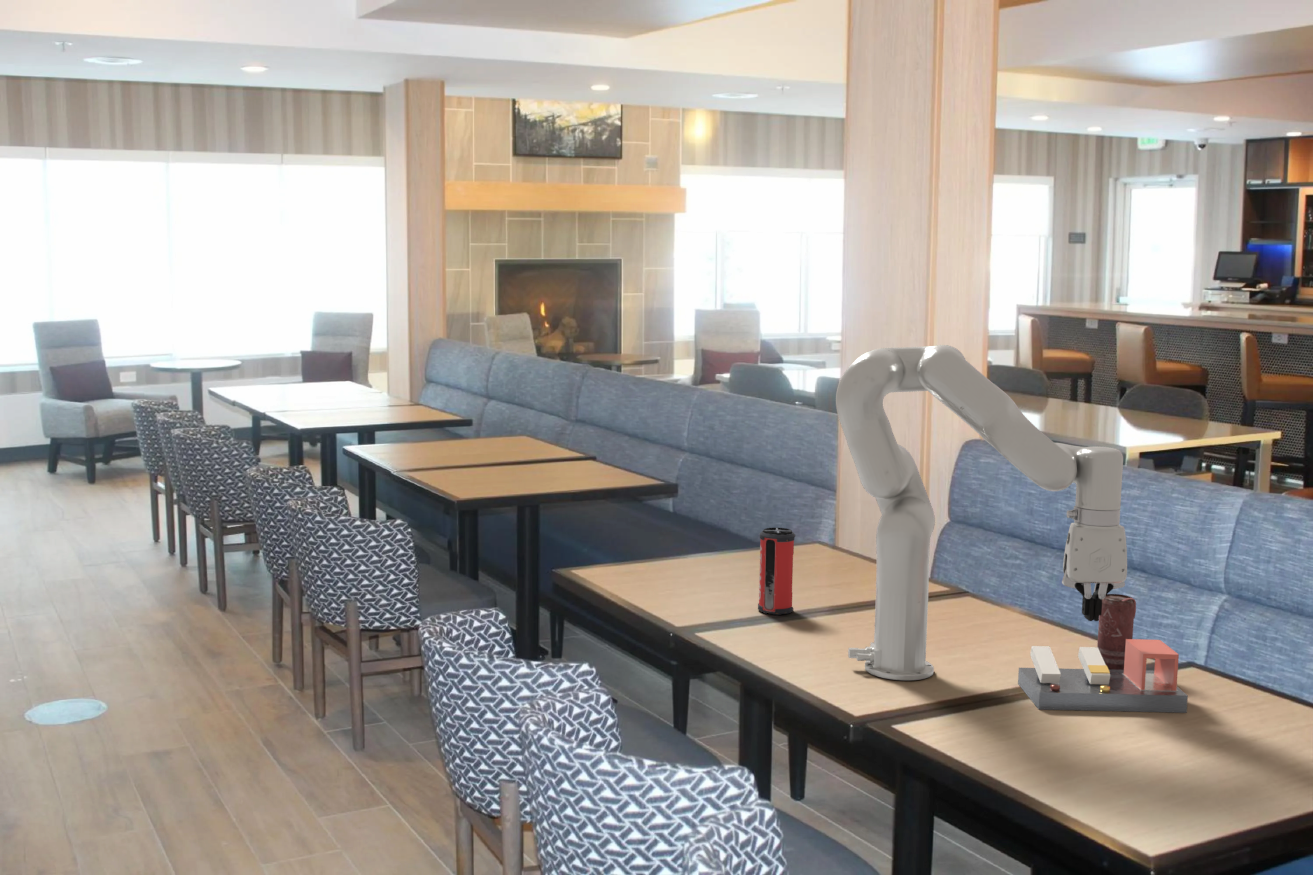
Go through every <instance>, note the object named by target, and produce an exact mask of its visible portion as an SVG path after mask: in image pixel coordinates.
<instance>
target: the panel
mask: <svg viewBox="0 0 1313 875" xmlns="http://www.w3.org/2000/svg"><path fill="white" fill-rule="evenodd" d="M1058 668H1059V671H1060V673H1061V676H1060V682H1059V683H1040V680H1039V677H1038V675H1037V672H1036V669H1035V667H1018V677H1017V684H1018V686H1020V688H1021V690H1022V691H1023V692H1024V693H1025V694H1026V696H1027V697H1028V698H1029V700H1030V701H1031V702H1032V703H1033V705H1034V706H1035V707H1036V708H1037V710H1046V711H1047V710H1051V711H1052V710H1053V711H1055V710H1056V711H1094V712H1096V711H1098V712H1099V711H1100V712H1101V711H1102V712H1134V713H1135V712H1136V713H1137V712H1139V713H1140V712H1142V713H1146V712H1147V713H1149V712H1150V713H1183V714H1184V713H1187V712H1188V698H1189V695H1187V693H1186V692H1184V691H1183V690H1182V689H1181V688H1179V686H1177V689H1176V690H1172V689H1171V688H1170V687H1169V686H1168V685H1166V684H1165V683H1164V682H1163V681H1162V680H1161V679H1159V678H1158V677H1157V676H1156V675H1155V674H1154V670H1155V669H1154V670H1153V669H1152V670H1147V669H1146V677H1145V690H1143V689H1140V688H1139V687H1138V686H1137V685H1136V684H1135V683H1134V682H1133V681H1131V680H1130V679H1129V678H1128V677H1127V676H1126V675H1125V674H1124V670H1109V671H1110V680H1109V684H1090V683H1089V681H1088V678H1087V676H1086V674H1085V671H1084V669H1083V668H1060V667H1058Z"/></svg>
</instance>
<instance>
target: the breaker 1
mask: <svg viewBox="0 0 1313 875" xmlns="http://www.w3.org/2000/svg"><path fill="white" fill-rule="evenodd" d="M1030 647H1031V648H1030V652H1029V654H1030V658H1031V660H1032V664H1033V666H1034V667H1033V668H1035V669H1036V672H1037V675H1038V677H1039V680H1040V683H1059V682H1060V676H1061V673H1060V671H1059V668H1060V667H1059V665H1058V663H1057V661H1056V658H1055V655H1054V654H1053V650H1052V649H1051V646H1048V645H1047V646H1046V645H1045V646H1042V645H1031V646H1030Z"/></svg>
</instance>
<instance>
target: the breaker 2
mask: <svg viewBox="0 0 1313 875" xmlns="http://www.w3.org/2000/svg"><path fill="white" fill-rule="evenodd" d="M1077 657H1078V660H1079V662H1080V664H1081V666H1082V669H1084V671H1085V674H1086V676H1087V678H1088V681H1089V683H1090V684H1109V680H1110V671H1109V669H1108V667H1107V665H1106V664H1105V662H1104V660H1103V658H1102V656H1101V653H1100V651H1099V649H1098V647H1095V646H1092V647H1091V646H1079V649H1078V653H1077Z"/></svg>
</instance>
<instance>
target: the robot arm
mask: <svg viewBox="0 0 1313 875" xmlns="http://www.w3.org/2000/svg"><path fill="white" fill-rule="evenodd" d="M907 392H909V393H911V392H912V393H913V392H914V393H915V392H928V393H930V394H931V395H932V396H933V397H934V398H935V399H937V400H938V401H939V402H941V403H942V404H943V405H944V406H945V407H947V408H948V409H949V410H950V411H951V412H953V413H954V414H955V415H956V416H957V417H958V418H959V419H961V420H962V421H963V422H964V423H966V425H968V426H969V427H970V428H971V429H973V430H974V432H976V433H977V434H978V435H979V436H980V438H982V439H983V440H984V441H985V442H987V443H988V444H989V445H990V446H992V448H994V449H995V450H996V451H997V452H998V453H999V454H1000V456H1003V458H1004V459H1006V460H1007V461H1008V462H1009V463H1010V464H1011V465H1012V466H1014V467H1015V468H1016V469H1018V471H1020V473H1022V474H1023V475H1025V476H1026V478H1028V479H1029V480H1030V481H1032V482H1033V483H1034V484H1035V485H1037V486H1038V487H1040V488H1041V489H1043V490H1045V491H1050V492H1060V491H1063V490H1066V489H1068V488H1069V487H1070V486H1071V485H1072V484H1074V483H1075V484H1074V485H1075V486H1076V487H1075V502H1074V504H1075V505H1074V506H1073V509H1070V510H1066V517H1067V519H1072V520H1073V522H1071V523H1070V526H1069V529H1068V531H1067V536H1066V542H1065V546H1064V553H1063V563H1062V564H1063V565H1062V570H1063V571H1062V572H1063V577H1062V580H1061V584H1062V585H1063V586H1065V587H1068V588H1070V589H1071V588H1072V589H1075V590H1077V592H1078V593H1080V595H1081V596H1082V602H1081V604H1082V605H1081V614H1082V615H1083V616H1084V619H1086V620H1087V621H1088V622H1093V621H1094V622H1099V615H1101V614H1102V599H1104V598H1105V596H1106V595H1107V594H1110V593H1111V591H1112V590H1116V589H1122V588H1124V587H1125V585H1126V582H1125V581H1126V579H1127V576H1128V548H1127V535H1126V529H1125V526H1124V525H1121V524H1120V522H1121V521H1120V520H1121V503H1122V489H1123V488H1122V484H1123V469H1124V468H1123V467H1124V456H1123V453H1122V451H1121V450H1119V449H1118V448H1115V447H1111V446H1110V447H1108V446H1097V445H1096V446H1079V445H1073V444H1067V443H1063V442H1054V441H1053V440H1052V439H1050V438H1049V437H1048V436H1047V435H1046V434H1045V433H1043V432H1042V431H1041V430H1040V429H1039V428H1038V427H1036V426H1035V425H1034V424H1033V423H1032V422H1031V421H1030V420H1029V419H1028V418H1027V416H1025V414H1023V412H1022V411H1021V409H1020V408H1019V407H1018V405H1017V404H1016V402H1015V401H1014V400H1013V398H1012V397H1011V396H1009V395H1008V394H1007V393H1006V392H1005V391H1003V389H1001V388H1000V387H999V386H998V385H997V384H996V383H993V382H992V381H991V380H990V379H989V378H988V377H986V376H985V375H984V374H983V373H981V372H980V371H979V370H978V369H976V367H975V366H974V365H972V364H971V363H970V362H969V361H968V360H966V357H965V356H964V354H963V353H962V352H961V350H959V349H958V348H956V347H954V346H951V345H948V344H942V345H941V344H939V345H937V344H936V345H927V346H910V347H909V346H904V347H903V346H902V347H883V348H882V347H881V348H875V349H873V350H870V351H867V352H865V353H863V354H861V355H860V356H858V357H857V358H856V359H855V360H854V361H853V362H852V363H851V364H850V365H849V367H847V369H846V370H845V371H844V373H843V374H842V376H841V378H840V380H839V382H838V385H837V389H836V393H835V407H836V413H837V417H838V421H839V423H840V425H841V429H842V431H843V432H842V433H843V435H844V437H845V440H846V443H847V446H848V449H849V453H850V455H851V457H852V460H853V463H854V466H855V469H856V471H857V475H858V478H859V481H860V484H861V486H862V487H863V489H864V491H865V492H867V494H868V495H870V497H872V498H875V500H876V503H877V506H878V509H879V511H880V513H881V516H880V518H879V520H878V524H877V527H876V534H875V545H876V546H875V550H876V551H875V552H876V554H875V555H876V577H875V578H876V579H875V580H876V581H875V607H874V608H875V611H874V613H875V614H874V634H873V635H874V638H873V642H872V641H871V642H870V646H865V647H864V648H859V647H848V651H847V653H848V655H847V656H848V659H856V662H857V661H858V662H864V670H865V671H866V672H867V673H869V674H870V675H872V676H875V677H878V678H882V679H887V680H894V681H920V680H924V679H927V678H928V679H929V678H930V677H932V676H933V675H934V670H935V668H934V666H933V664H932V663H930V661H927V660H926V658H927V657H926V656H927V639H928V637H927V636H928V634H927V633H928V613H929V610H928V609H929V607H928V606H929V580H930V544H931V538H932V536H933V532H934V530H935V525H936V524H935V523H936V517H935V512H934V509H933V506H932V503H931V500H930V498H929V495H928V492H927V490H926V488H925V484H924V482H923V479H922V476H921V474H920V471H919V469H918V466H917V464H916V462H915V459H914V458H913V455H912V454H911V453H910V452H909V450H908V449H906V448H905V447H904V446H902V445H900V444H898V442H897V439H896V437H895V434H894V431H893V429H892V425H891V423H890V420H889V418H888V415H887V413H886V411H885V408H884V398H885V397H886V395H888V394H890V393H907ZM1091 584H1094V589H1093V592H1092V585H1091Z"/></svg>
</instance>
